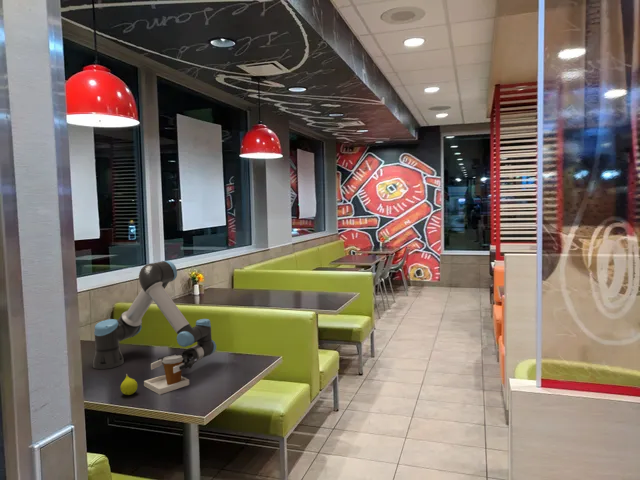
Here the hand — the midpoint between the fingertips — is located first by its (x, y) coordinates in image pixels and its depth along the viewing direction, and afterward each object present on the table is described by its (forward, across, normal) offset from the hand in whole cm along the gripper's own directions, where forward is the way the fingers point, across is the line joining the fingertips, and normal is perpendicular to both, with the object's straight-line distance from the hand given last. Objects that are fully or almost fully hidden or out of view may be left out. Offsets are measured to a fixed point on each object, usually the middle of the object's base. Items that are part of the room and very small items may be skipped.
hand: (162, 368), depth 216 cm
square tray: (-2, 0, -9) cm, 9 cm away
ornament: (+12, +8, -9) cm, 17 cm away
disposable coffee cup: (-4, -3, -8) cm, 9 cm away
